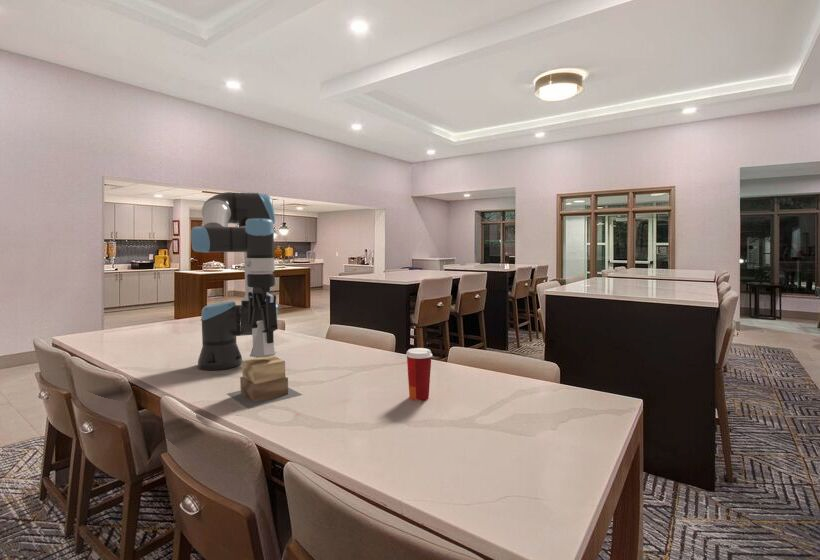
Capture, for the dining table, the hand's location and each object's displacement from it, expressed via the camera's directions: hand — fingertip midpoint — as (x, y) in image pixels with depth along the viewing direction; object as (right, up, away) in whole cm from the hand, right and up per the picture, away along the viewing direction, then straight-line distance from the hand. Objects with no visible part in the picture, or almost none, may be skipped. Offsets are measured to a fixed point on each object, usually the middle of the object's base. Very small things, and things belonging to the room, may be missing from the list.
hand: (263, 351), depth 126 cm
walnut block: (0, -13, +1) cm, 13 cm away
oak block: (0, -8, +1) cm, 8 cm away
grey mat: (0, -14, +1) cm, 14 cm away
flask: (0, -1, 0) cm, 1 cm away
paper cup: (+45, -14, +1) cm, 47 cm away
